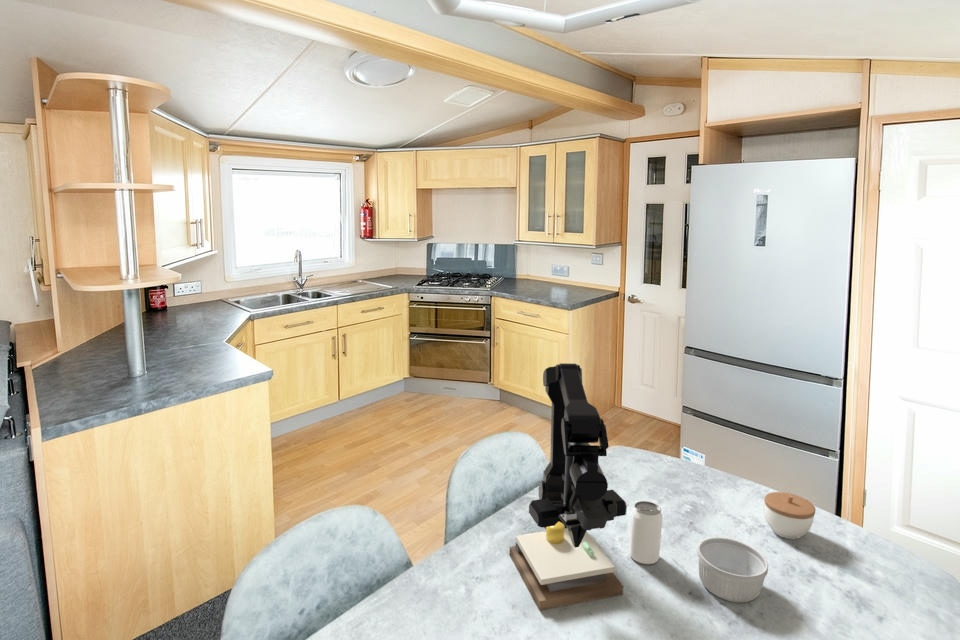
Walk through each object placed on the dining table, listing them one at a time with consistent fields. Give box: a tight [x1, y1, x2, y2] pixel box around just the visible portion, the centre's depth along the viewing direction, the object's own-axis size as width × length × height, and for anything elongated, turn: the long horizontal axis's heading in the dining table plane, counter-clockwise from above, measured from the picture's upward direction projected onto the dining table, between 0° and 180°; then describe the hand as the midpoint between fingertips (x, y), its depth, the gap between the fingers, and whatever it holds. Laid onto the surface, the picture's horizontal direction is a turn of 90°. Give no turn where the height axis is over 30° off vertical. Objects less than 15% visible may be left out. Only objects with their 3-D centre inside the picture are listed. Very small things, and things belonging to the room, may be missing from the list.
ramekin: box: [697, 537, 769, 603], centre depth 115 cm, size 13×13×7 cm
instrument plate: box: [515, 522, 616, 585], centre depth 118 cm, size 15×16×4 cm
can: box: [628, 500, 663, 566], centre depth 124 cm, size 6×6×12 cm
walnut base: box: [508, 541, 624, 611], centre depth 118 cm, size 18×18×4 cm
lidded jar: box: [763, 491, 816, 540], centre depth 134 cm, size 11×11×9 cm
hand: (575, 546), depth 112 cm, fingers closed
